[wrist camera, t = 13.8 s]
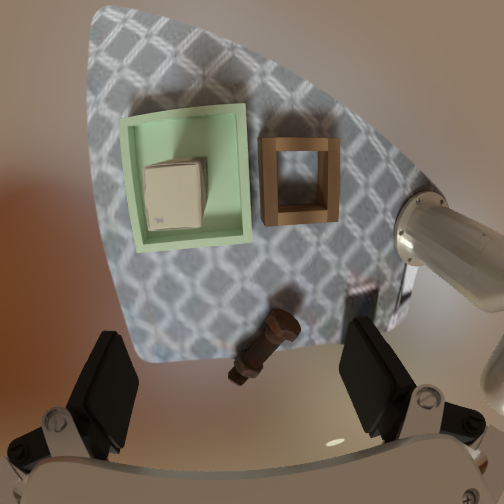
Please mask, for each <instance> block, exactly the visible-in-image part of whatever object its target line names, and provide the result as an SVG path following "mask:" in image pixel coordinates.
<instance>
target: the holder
mask: <svg viewBox="0 0 504 504" xmlns="http://www.w3.org/2000/svg"><path fill="white" fill-rule="evenodd" d="M257 142H258V164H259V187H260V212H261V220H262V222H263V223H264V225H265V227H268V226H281V225H295V224H309V223H325V222H338V217H339V194H340V139H336V138H300V137H286V138H257ZM276 151H318V203H315V204H295V205H278V193H277V159H276Z"/></svg>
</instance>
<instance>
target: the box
mask: <svg viewBox="0 0 504 504" xmlns="http://www.w3.org/2000/svg"><path fill="white" fill-rule="evenodd" d="M143 187H144V201H145V210H146V219H147V226H148V230H149V231H158V230H174V229H187V228H198V227H201V224H202V220H203V215H204V211H205V208H206V204H207V200H208V158H207V157H206V156H203V157H183V158H174V159H170V160H166V161H163V162H159V163H155V164H152V165H146V166H144V168H143Z"/></svg>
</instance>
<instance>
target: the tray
mask: <svg viewBox="0 0 504 504" xmlns="http://www.w3.org/2000/svg"><path fill="white" fill-rule="evenodd" d="M119 130H120V143H121V154H122V163H123V172H124V180H125V187H126V194H127V201H128V207H129V213H130V219H131V225H132V230H133V235H134V240H135V245H136V250H137V253H144V252H154V251H165V250H176V249H186V248H197V247H208V246H219V245H231V244H242V243H252V224H251V204H250V184H249V164H248V144H247V124H246V105H245V103H239V104H222V105H209V106H199V107H190V108H181V109H174V110H167V111H160V112H154V113H148V114H143V115H138V116H133V117H128V118H123V119H119ZM203 156H206V157H207V158H208V200H207V204H206V208H205V211H204V215H203V220H202V224H201V227H198V228H187V229H174V230H158V231H149V230H148V226H147V219H146V210H145V201H144V187H143V168H144V166H146V165H152V164H155V163H159V162H163V161H166V160H170V159H174V158H183V157H203Z"/></svg>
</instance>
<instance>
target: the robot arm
mask: <svg viewBox="0 0 504 504" xmlns="http://www.w3.org/2000/svg"><path fill="white" fill-rule="evenodd" d="M394 245H395V249H396V252H397V254H398V256H399V257H400V258H401V259H402V260H403V261H404V262H405V263H407V264H408V265H411V266H422V265H425V266H427V267H428V268H429V269H431V270H432V271H433V272H434V273H436V274H437V275H438V276H440V277H441V278H442V279H443V280H445V281H446V282H447V283H449V284H450V285H451V286H452V287H453V288H455V289H456V290H457V291H458V292H459V293H461V294H462V295H463V296H464V297H466V298H467V299H468V300H469V301H470V302H472V303H473V304H474V305H475V306H476V307H478V308H479V309H480V310H482V311H485V312H490V313H493V312H500V311H504V235H502V234H500V233H498V232H496V231H494V230H492V229H491V228H489V227H487V226H484V225H483V224H481V223H479V222H476V221H475V220H472V219H470V218H468V217H466V216H464V215H462V214H460V213H458V212H455V211H453V210H451V209H449V206H448V204H447V202H446V201H445V199H444V198H443V197H442V196H441V195H439V194H437V193H435V192H432V191H422V192H419V193H417V194H415V195H414V196H413V197H411V198H410V199H409V200H408V201H407V202H406V203H405V205H404V206H403V208H402V209H401V211H400V213H399V216H398V218H397V221H396V224H395V229H394ZM339 373H340V375H341V378H342V380H343V382H344V384H345V387H346V389H347V391H348V394H349V396H350V398H351V401H352V403H353V406H354V408H355V410H356V413H357V415H358V417H359V420H360V422H361V424H362V427H363V429H364V431H365V433H369V435H370V437H371V438H373V437H376V436H379V435H381V437H382V440H383V442H382V445H379V446H375V447H372V448H369V449H365V450H362V451H358V452H355V453H350V454H346V455H343V456H339V457H334V458H330V459H326V460H321V461H316V462H311V463H305V464H300V465H293V466H286V467H279V468H270V469H260V470H248V471H224V472H201V471H200V472H199V471H178V470H165V469H155V468H147V467H140V466H132V465H126V464H119V463H114V462H110V461H109V460H108V458H107V457H108V454H109V452H110V453H116V454H119V452H120V448H123V447H124V445H125V440H126V435H127V431H128V427H129V422H130V418H131V414H132V410H133V405H134V402H135V397H136V394H137V390H138V386H139V380H138V376H137V374H136V372H135V369H134V367H133V365H132V362H131V360H130V357H129V355H128V352H127V350H126V347H125V345H124V342H123V339H122V337H121V335H118V333H117V332H116V331H102V333H101V334H100V336H99V338H98V340H97V342H96V344H95V346H94V348H93V350H92V352H91V354H90V356H89V358H88V361H87V362H86V363H85V365H84V367H83V370H82V372H81V374H80V376H79V378H78V380H77V383H76V385H75V387H74V389H73V392H72V394H71V396H70V398H69V401H68V403H67V406H66V408H64V407H61V406H56V407H52V408H50V409H48V410H47V411H46V412H45V413H44V415H43V416H42V420H41V427H40V428H37V429H35V430H34V431H31V432H29V433H27V434H25V435H23V436H21V437H19V438H17V439H15V440H13V441H12V442H11V443H10V444H9V447H8V450H7V454H8V456H7V457H5V456H3V457H2V458H1V459H0V504H497V502H498V500H499V498H500V496H501V494H502V492H503V490H504V433H503V432H502V431H500V430H498V429H497V428H495V427H493V426H492V425H489V426H486V422H485V418H484V417H483V415H482V414H481V413H479V412H477V411H475V410H472V409H468V408H465V407H461V406H458V405H454V404H451V403H448V402H445V398H444V395H443V393H442V391H441V390H440V389H439V388H437V387H436V386H433V385H430V384H423V385H420V386H418V387H417V386H416V384H415V383H414V381H413V380H412V378H411V377H410V375H409V373H408V372H407V370H406V369H405V367H404V366H403V364H402V363H401V361H400V360H399V358H398V357H397V355H396V354H395V353H394V351H393V349H392V348H391V346H390V345H389V344H388V343H387V342H386V341H385V339H384V338H383V336H382V335H381V334H380V332H379V331H378V329H377V328H376V326H375V325H374V324H373V322H372V321H371V319H370V318H369V317H368V316H361V317H355V318H354V319H353V321H351V322H350V323H349V326H348V331H347V335H346V340H345V344H344V348H343V352H342V356H341V360H340V364H339ZM480 389H481V392H482V395H483V397H484V399H485V400H486V402H487V403H488V404H489V405H490V406H491V407H492V408H493V409H494V410H495V411H497V412H498V413H500V414H501V415H502V416H504V335H503V336H502V338H501V340H500V341H499V343H498V345H497V347H496V348H495V350H494V351H493V353H492V355H491V357H490V358H489V360H488V362H487V363H486V365H485V367H484V369H483V371H482V374H481V378H480Z"/></svg>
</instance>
